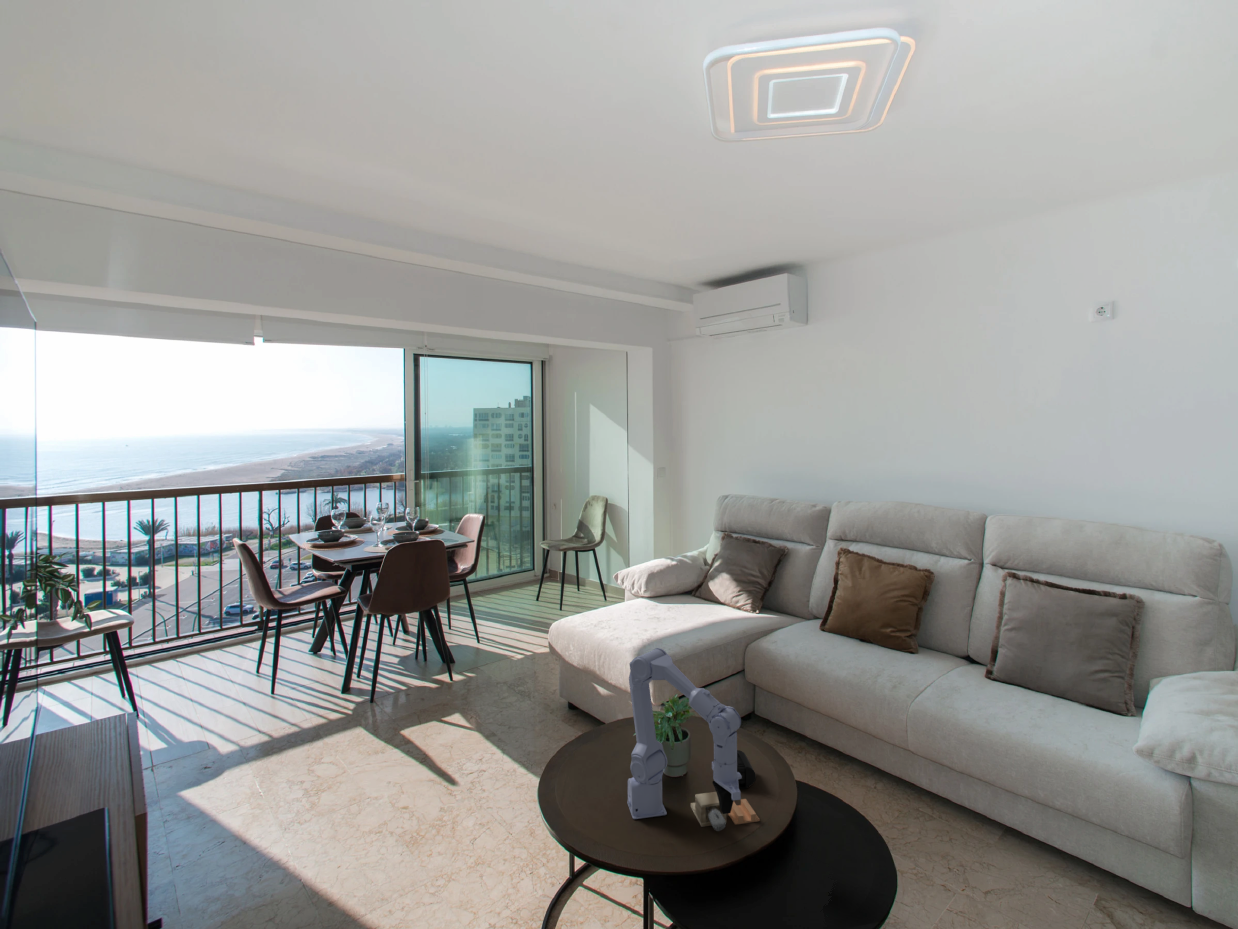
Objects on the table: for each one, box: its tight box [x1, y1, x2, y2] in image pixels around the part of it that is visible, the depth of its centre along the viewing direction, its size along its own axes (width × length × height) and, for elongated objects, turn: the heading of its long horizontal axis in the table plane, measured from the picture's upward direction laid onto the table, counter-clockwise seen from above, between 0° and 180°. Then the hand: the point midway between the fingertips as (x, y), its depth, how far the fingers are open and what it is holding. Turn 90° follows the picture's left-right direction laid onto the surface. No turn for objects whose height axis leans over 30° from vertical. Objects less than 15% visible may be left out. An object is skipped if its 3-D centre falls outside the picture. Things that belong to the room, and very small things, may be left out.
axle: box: [706, 806, 727, 832], centre depth 159 cm, size 10×4×4 cm, turn 11°
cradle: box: [728, 798, 761, 825], centre depth 162 cm, size 7×7×2 cm
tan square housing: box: [690, 791, 727, 828], centre depth 162 cm, size 7×9×6 cm
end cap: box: [737, 749, 757, 790], centre depth 179 cm, size 10×7×7 cm
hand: (725, 812), depth 150 cm, fingers closed
